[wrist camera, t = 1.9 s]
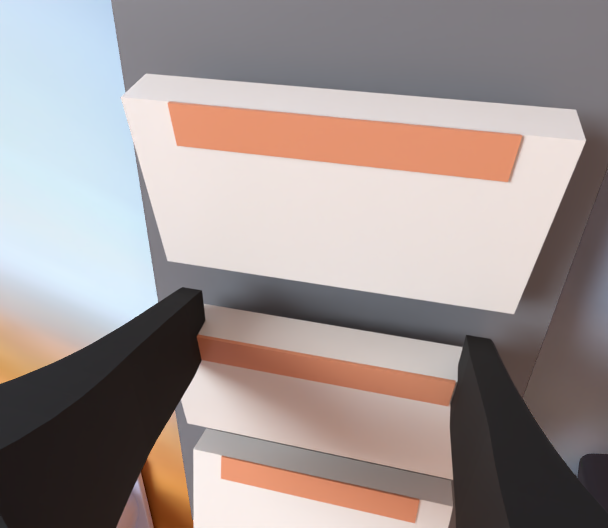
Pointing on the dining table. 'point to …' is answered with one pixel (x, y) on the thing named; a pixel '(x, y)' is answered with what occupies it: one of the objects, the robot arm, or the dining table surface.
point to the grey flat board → (400, 81)
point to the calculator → (595, 476)
